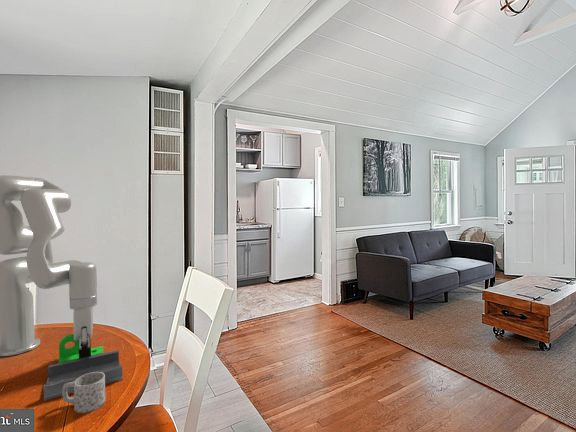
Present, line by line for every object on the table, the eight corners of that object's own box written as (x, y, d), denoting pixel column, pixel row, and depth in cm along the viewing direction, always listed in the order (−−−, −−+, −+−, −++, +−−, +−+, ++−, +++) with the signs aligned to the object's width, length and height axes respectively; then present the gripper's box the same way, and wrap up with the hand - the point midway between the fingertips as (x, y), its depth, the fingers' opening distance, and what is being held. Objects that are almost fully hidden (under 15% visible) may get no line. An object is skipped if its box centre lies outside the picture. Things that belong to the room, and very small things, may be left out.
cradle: (48, 377, 93) (48, 365, 92) (118, 360, 102) (118, 350, 102) (43, 400, 82) (43, 387, 81) (122, 379, 91) (122, 367, 91)
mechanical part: (58, 369, 97) (57, 343, 97) (59, 360, 102) (59, 336, 102) (103, 359, 103) (102, 334, 103) (103, 351, 109) (102, 328, 108)
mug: (110, 396, 83) (110, 371, 83) (96, 413, 77) (95, 386, 77) (71, 397, 83) (71, 372, 83) (53, 414, 77) (53, 387, 76)
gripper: (70, 296, 108) (71, 348, 109) (68, 311, 93) (70, 371, 94) (96, 293, 112) (97, 343, 113) (98, 306, 97) (99, 364, 98)
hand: (85, 355), depth 103 cm, fingers closed on mechanical part, 6 cm apart
